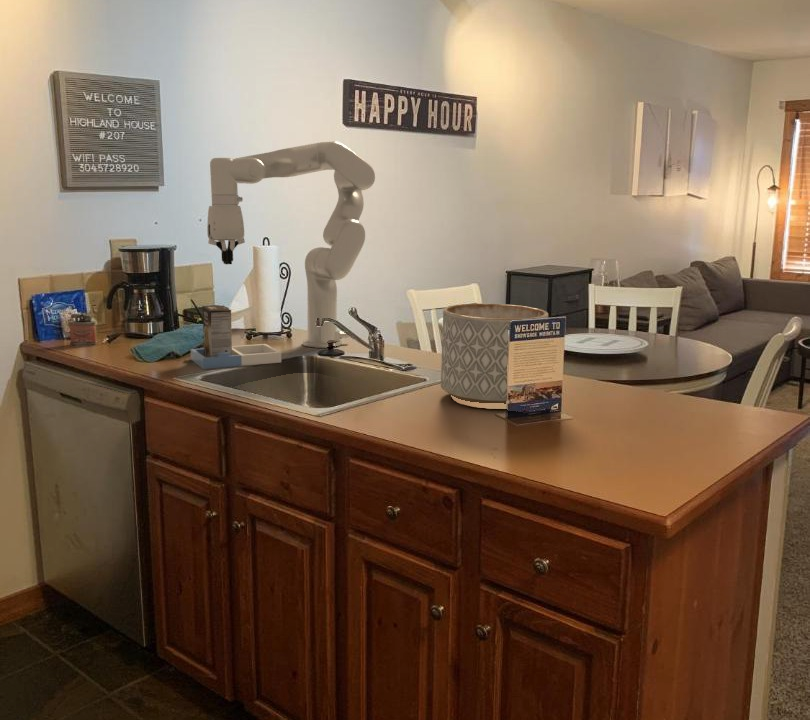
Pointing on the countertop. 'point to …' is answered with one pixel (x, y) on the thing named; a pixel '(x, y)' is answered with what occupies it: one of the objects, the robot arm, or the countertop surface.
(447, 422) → the countertop surface
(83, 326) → the lighter
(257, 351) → the blue and white tray
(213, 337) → the coffee box
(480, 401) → the planter
